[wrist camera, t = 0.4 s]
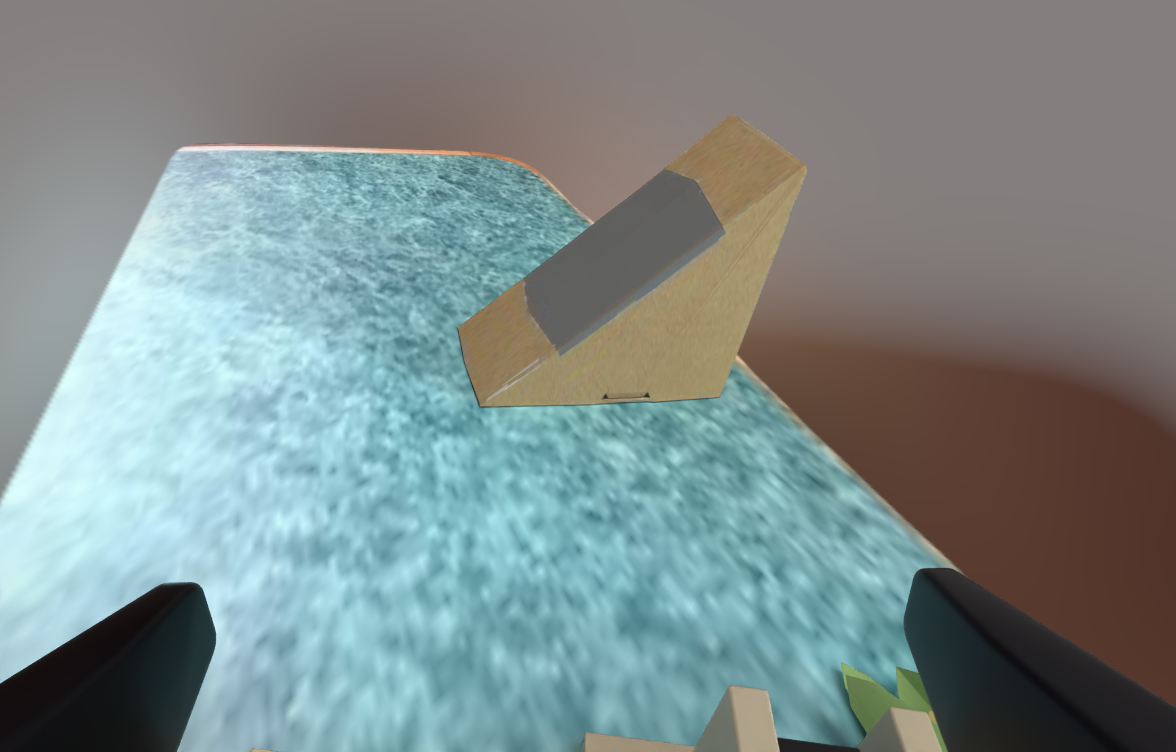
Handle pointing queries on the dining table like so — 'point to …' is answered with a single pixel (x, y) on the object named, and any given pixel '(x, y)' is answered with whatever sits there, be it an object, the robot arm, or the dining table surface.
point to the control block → (261, 750)
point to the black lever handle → (810, 746)
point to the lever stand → (773, 730)
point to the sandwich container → (645, 286)
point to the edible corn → (886, 697)
